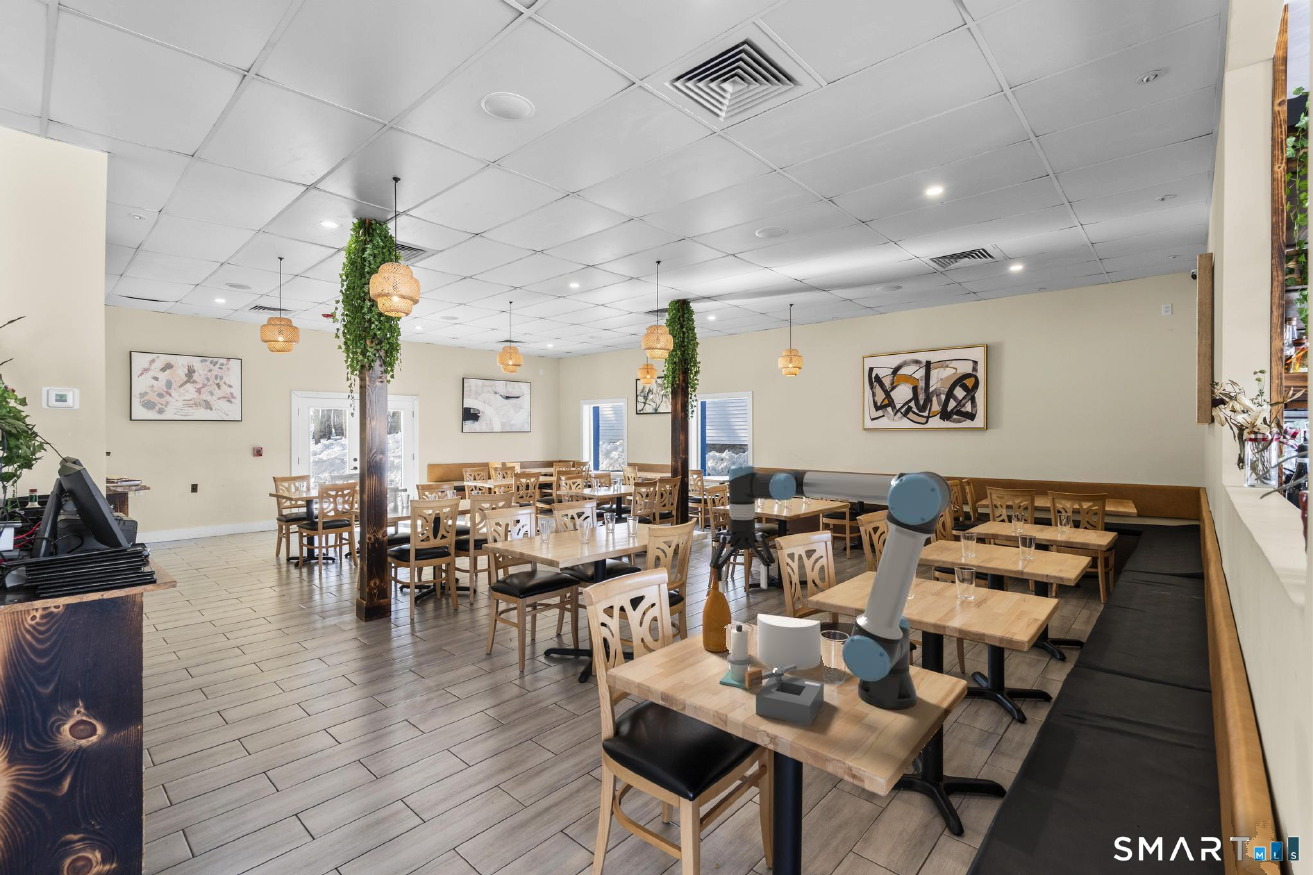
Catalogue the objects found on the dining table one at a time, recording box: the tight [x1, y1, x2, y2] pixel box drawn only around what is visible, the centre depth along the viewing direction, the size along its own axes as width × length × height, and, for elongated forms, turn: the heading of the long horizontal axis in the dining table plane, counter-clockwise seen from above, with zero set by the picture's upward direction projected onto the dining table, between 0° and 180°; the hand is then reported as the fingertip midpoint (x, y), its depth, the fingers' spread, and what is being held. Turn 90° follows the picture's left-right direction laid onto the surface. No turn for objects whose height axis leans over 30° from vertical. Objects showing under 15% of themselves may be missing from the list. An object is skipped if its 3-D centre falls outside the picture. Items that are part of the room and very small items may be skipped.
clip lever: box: [745, 664, 798, 689], centre depth 166 cm, size 18×3×4 cm, turn 123°
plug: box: [726, 624, 752, 682], centre depth 179 cm, size 7×7×16 cm
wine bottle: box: [701, 567, 732, 653], centre depth 206 cm, size 10×10×30 cm
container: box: [756, 613, 822, 671], centre depth 197 cm, size 20×20×13 cm
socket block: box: [755, 674, 825, 727], centre depth 162 cm, size 14×16×6 cm
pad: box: [719, 669, 751, 690], centre depth 179 cm, size 9×9×1 cm
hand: (743, 589), depth 179 cm, fingers open, 13 cm apart
